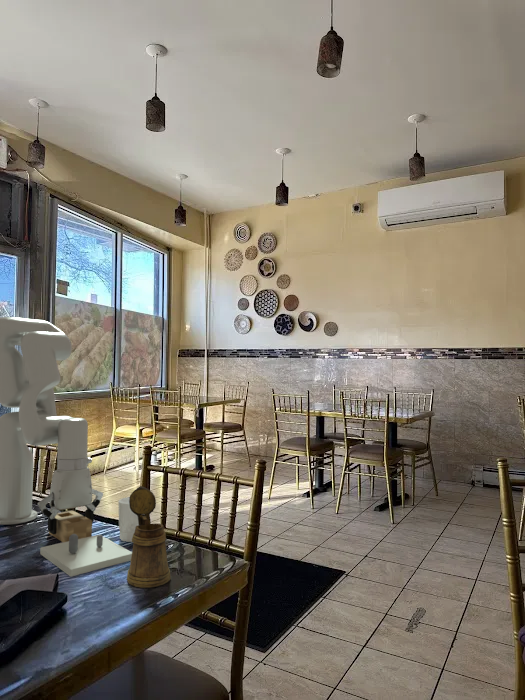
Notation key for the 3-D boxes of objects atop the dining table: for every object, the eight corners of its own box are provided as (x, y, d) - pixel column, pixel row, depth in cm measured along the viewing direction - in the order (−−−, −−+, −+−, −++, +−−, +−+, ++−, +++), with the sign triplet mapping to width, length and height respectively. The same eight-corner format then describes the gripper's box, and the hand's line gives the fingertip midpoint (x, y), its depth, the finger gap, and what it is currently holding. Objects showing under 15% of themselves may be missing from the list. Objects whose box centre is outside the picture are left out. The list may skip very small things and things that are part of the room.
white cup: (130, 545, 128) (131, 505, 129) (111, 538, 133) (112, 500, 133) (154, 537, 134) (155, 499, 135) (135, 531, 139) (136, 494, 140)
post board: (40, 553, 121) (41, 528, 121) (99, 540, 131) (99, 517, 132) (70, 576, 108) (71, 548, 108) (133, 559, 118) (134, 533, 119)
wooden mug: (157, 561, 117) (159, 483, 118) (175, 583, 105) (177, 496, 106) (119, 567, 113) (121, 487, 114) (132, 591, 101) (135, 501, 102)
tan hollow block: (48, 533, 136) (49, 514, 137) (72, 528, 141) (72, 510, 141) (67, 545, 127) (67, 525, 128) (91, 539, 132) (92, 520, 132)
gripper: (96, 459, 144) (95, 520, 143) (33, 466, 132) (32, 533, 131) (109, 462, 138) (108, 525, 137) (44, 470, 126) (43, 539, 125)
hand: (71, 529), depth 134 cm, fingers open, 9 cm apart
